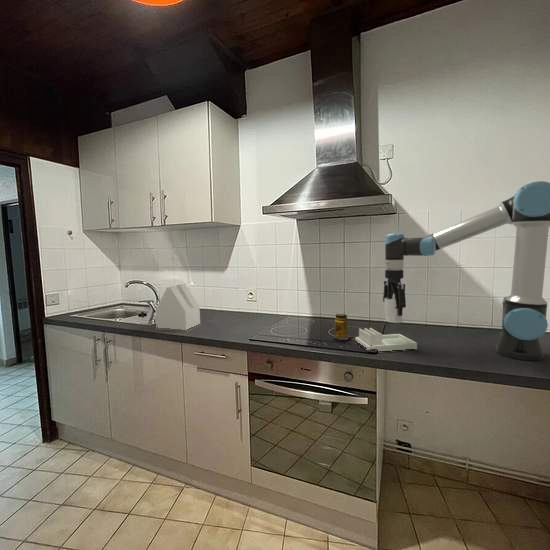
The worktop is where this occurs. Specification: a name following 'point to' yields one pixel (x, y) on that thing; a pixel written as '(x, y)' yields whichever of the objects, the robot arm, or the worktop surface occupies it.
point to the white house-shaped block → (177, 309)
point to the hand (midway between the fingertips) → (393, 320)
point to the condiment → (341, 326)
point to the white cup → (390, 309)
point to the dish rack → (384, 341)
